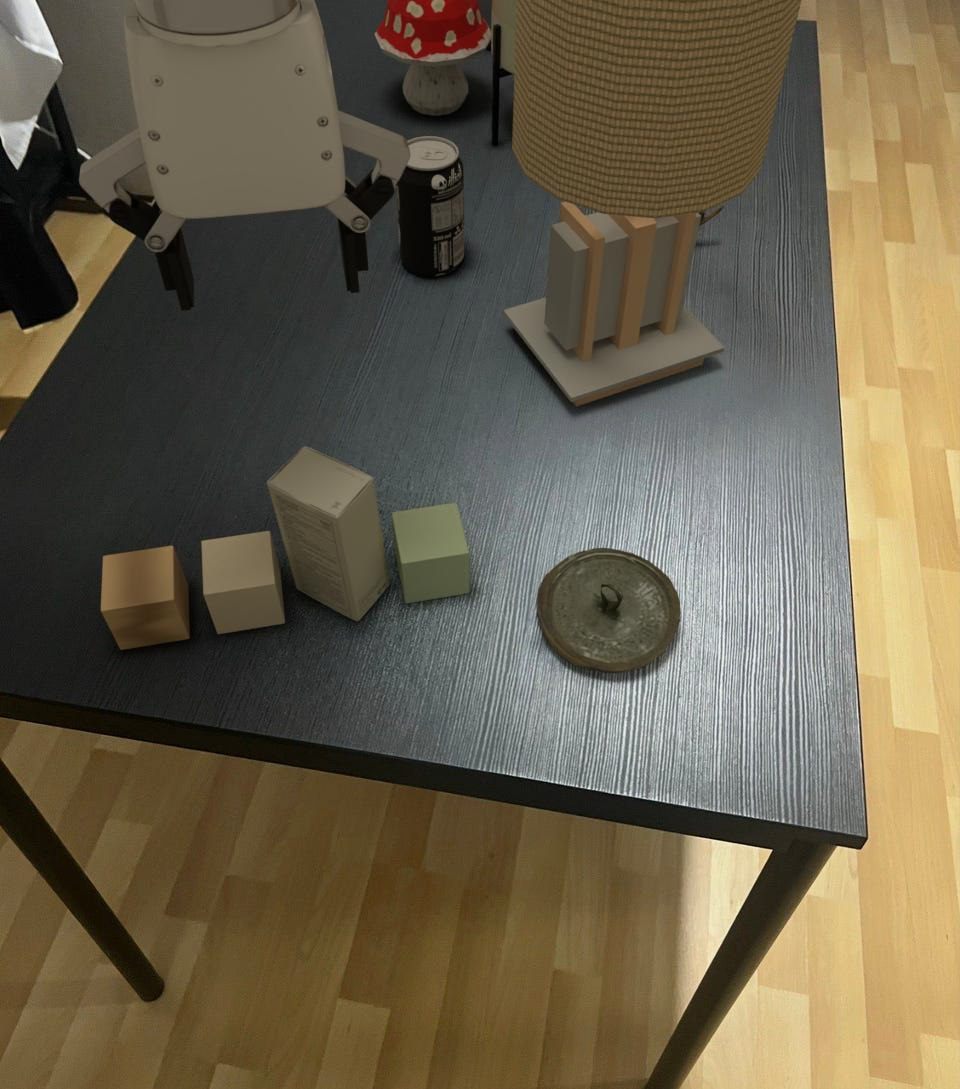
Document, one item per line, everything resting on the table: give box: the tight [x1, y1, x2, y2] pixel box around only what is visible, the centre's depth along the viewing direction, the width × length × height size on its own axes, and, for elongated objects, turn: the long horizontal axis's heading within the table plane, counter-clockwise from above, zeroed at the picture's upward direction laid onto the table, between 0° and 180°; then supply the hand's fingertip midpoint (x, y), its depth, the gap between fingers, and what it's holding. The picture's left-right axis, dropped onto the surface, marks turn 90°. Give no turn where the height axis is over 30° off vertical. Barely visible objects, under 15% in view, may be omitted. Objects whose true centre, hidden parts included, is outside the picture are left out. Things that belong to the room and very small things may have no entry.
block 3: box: [390, 502, 471, 604], centre depth 75 cm, size 5×5×5 cm
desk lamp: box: [502, 0, 802, 407], centre depth 80 cm, size 20×20×35 cm
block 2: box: [200, 530, 286, 635], centre depth 73 cm, size 5×5×5 cm
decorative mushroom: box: [374, 0, 491, 117], centre depth 117 cm, size 14×14×15 cm
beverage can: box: [395, 135, 465, 277], centre depth 98 cm, size 7×7×12 cm
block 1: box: [100, 545, 191, 651], centre depth 73 cm, size 5×5×5 cm
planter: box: [490, 0, 517, 147], centre depth 110 cm, size 15×16×23 cm
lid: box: [535, 547, 682, 674], centre depth 73 cm, size 11×10×5 cm
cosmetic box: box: [266, 445, 390, 622], centre depth 72 cm, size 6×4×12 cm
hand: (270, 287), depth 59 cm, fingers open, 9 cm apart
